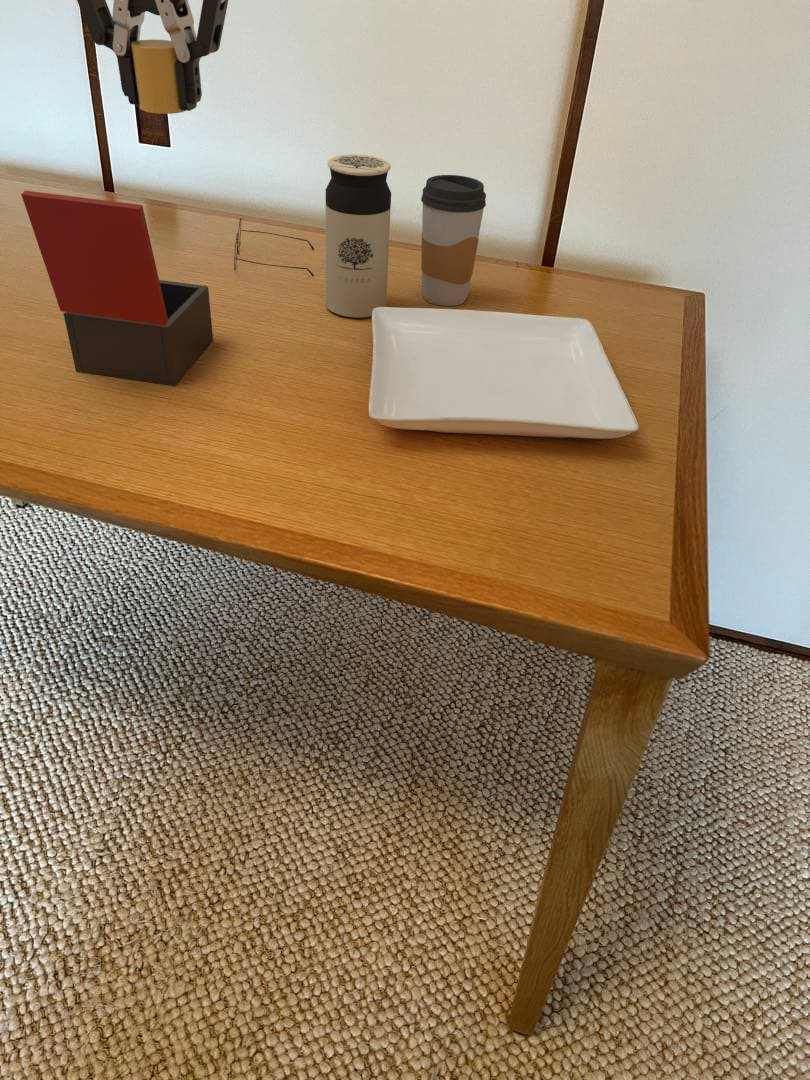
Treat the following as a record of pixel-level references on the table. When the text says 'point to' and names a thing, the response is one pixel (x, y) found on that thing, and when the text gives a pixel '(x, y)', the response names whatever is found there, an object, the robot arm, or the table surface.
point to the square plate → (494, 375)
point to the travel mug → (357, 235)
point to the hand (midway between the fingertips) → (163, 104)
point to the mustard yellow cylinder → (156, 76)
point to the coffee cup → (450, 236)
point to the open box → (145, 339)
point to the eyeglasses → (260, 263)
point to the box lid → (97, 256)
